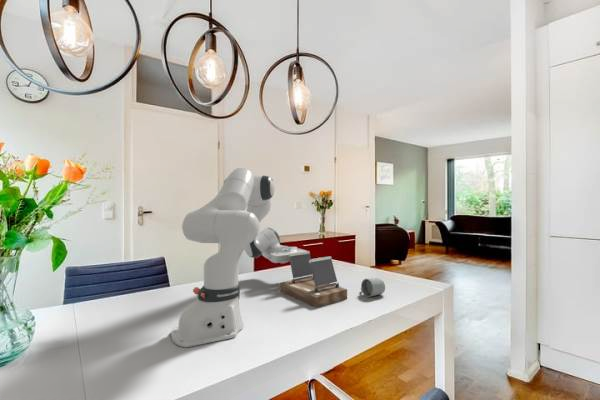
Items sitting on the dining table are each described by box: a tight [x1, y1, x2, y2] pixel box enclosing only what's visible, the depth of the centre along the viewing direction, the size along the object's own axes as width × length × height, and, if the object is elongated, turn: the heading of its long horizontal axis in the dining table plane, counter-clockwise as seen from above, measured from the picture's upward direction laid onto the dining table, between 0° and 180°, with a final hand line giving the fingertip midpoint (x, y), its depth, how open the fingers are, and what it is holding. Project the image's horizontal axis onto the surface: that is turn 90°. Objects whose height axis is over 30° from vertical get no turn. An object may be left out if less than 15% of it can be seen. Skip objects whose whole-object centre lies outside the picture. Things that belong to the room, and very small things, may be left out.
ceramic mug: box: [360, 277, 386, 298], centre depth 134 cm, size 11×8×8 cm
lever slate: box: [309, 256, 338, 287], centre depth 130 cm, size 11×2×11 cm, turn 127°
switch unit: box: [279, 275, 348, 308], centre depth 133 cm, size 17×26×6 cm, turn 37°
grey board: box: [288, 250, 312, 279], centre depth 142 cm, size 11×2×11 cm, turn 127°
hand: (298, 258), depth 144 cm, fingers closed, pressing on grey board
